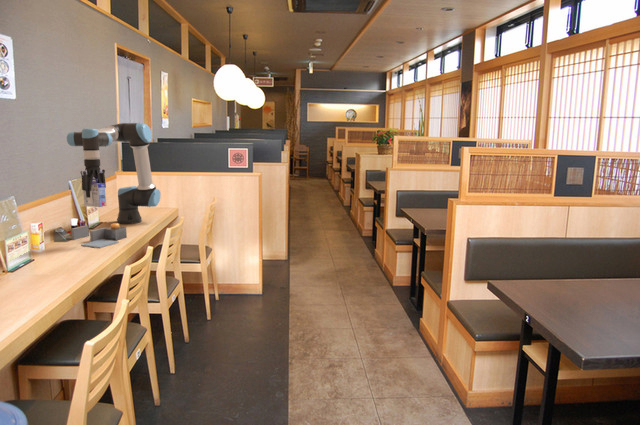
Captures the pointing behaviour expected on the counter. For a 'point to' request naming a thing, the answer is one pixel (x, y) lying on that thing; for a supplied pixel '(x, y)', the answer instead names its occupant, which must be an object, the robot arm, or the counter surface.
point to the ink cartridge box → (96, 195)
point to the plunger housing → (115, 233)
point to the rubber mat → (100, 243)
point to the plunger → (115, 225)
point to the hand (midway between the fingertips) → (95, 202)
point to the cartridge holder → (87, 233)
